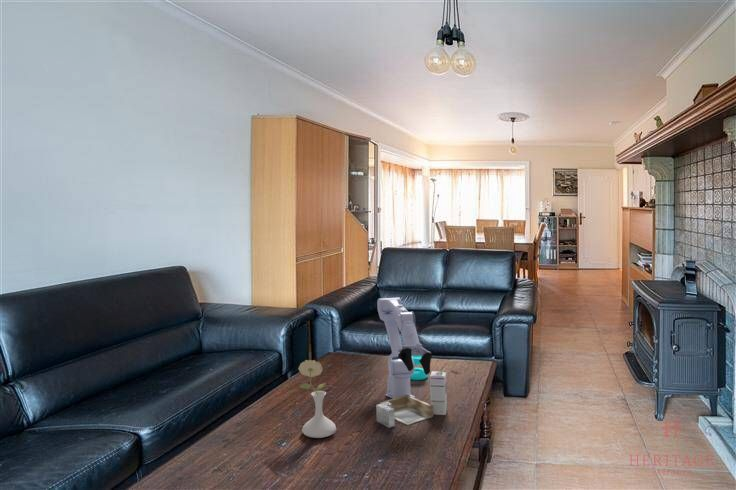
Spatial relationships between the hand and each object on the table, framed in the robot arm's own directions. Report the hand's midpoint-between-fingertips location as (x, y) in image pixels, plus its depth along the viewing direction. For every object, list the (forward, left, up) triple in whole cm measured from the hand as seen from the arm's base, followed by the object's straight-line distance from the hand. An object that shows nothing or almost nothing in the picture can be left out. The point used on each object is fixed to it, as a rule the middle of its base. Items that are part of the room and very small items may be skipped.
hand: (419, 371), depth 172 cm
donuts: (-37, +32, -18) cm, 52 cm away
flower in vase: (-14, -34, -18) cm, 41 cm away
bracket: (-6, -10, -18) cm, 21 cm away
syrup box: (-2, +11, -18) cm, 21 cm away
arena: (-7, 0, -18) cm, 19 cm away
